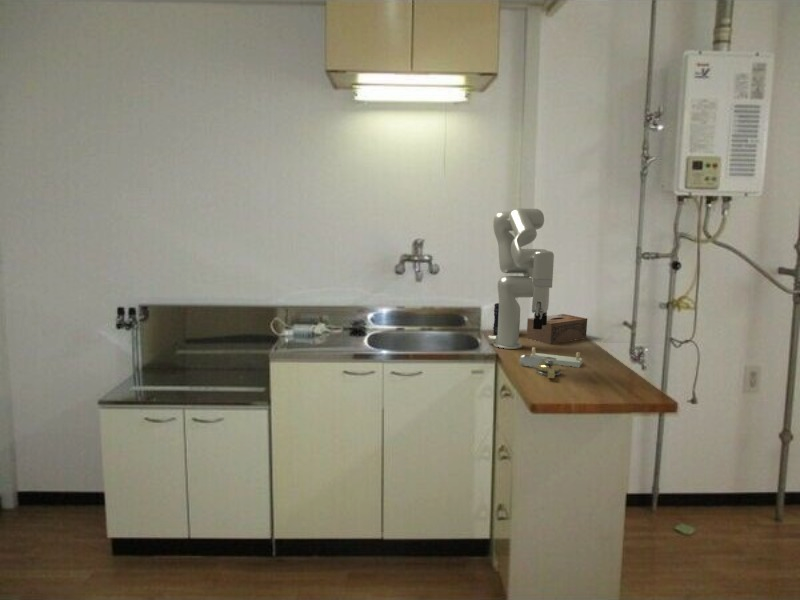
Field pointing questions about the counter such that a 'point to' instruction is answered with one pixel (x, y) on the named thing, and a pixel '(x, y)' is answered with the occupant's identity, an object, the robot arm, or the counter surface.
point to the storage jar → (496, 319)
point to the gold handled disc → (549, 368)
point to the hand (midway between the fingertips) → (539, 327)
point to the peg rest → (563, 359)
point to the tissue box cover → (558, 329)
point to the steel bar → (534, 360)
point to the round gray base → (546, 373)
